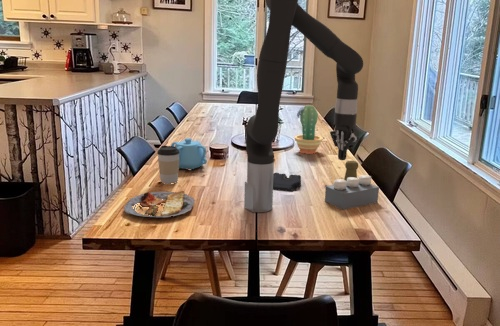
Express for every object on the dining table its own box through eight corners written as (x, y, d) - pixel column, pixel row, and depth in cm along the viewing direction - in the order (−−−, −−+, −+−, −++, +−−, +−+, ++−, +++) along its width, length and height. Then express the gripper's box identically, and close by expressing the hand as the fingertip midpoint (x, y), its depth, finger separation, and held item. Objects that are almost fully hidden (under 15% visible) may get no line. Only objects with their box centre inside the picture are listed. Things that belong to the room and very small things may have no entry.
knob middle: (350, 203, 166) (352, 181, 164) (342, 199, 170) (344, 178, 168) (359, 201, 168) (361, 179, 166) (351, 197, 172) (353, 176, 170)
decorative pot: (170, 163, 217) (169, 135, 214) (203, 161, 220) (203, 134, 217) (171, 172, 202) (170, 143, 198) (207, 171, 205) (207, 141, 201)
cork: (346, 183, 191) (348, 158, 188) (360, 186, 187) (362, 161, 184) (339, 187, 186) (341, 161, 183) (353, 190, 183) (355, 163, 180)
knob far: (363, 200, 169) (364, 179, 167) (354, 197, 173) (356, 176, 170) (371, 199, 171) (373, 177, 169) (363, 195, 175) (365, 174, 173)
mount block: (342, 209, 161) (343, 193, 159) (324, 201, 169) (325, 186, 168) (377, 202, 169) (379, 187, 168) (358, 194, 177) (360, 179, 176)
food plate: (137, 194, 172) (137, 186, 171) (198, 197, 171) (198, 188, 170) (116, 222, 148) (116, 212, 147) (187, 225, 147) (187, 215, 146)
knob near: (338, 206, 163) (339, 183, 161) (330, 202, 167) (331, 180, 165) (347, 204, 165) (349, 181, 163) (339, 200, 169) (341, 178, 167)
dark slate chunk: (253, 177, 198) (253, 167, 197) (303, 182, 193) (303, 172, 192) (243, 188, 184) (243, 176, 183) (297, 193, 179) (297, 182, 177)
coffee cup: (184, 182, 188) (184, 147, 185) (167, 186, 182) (166, 150, 178) (171, 177, 194) (170, 143, 190) (153, 181, 188) (152, 146, 184)
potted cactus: (306, 147, 255) (308, 102, 248) (328, 152, 244) (331, 106, 237) (287, 151, 245) (289, 105, 238) (309, 156, 234) (312, 108, 227)
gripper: (325, 109, 161) (322, 156, 166) (350, 115, 150) (346, 165, 155) (341, 108, 165) (337, 154, 169) (367, 113, 154) (362, 163, 158)
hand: (341, 159), depth 162 cm, fingers closed
